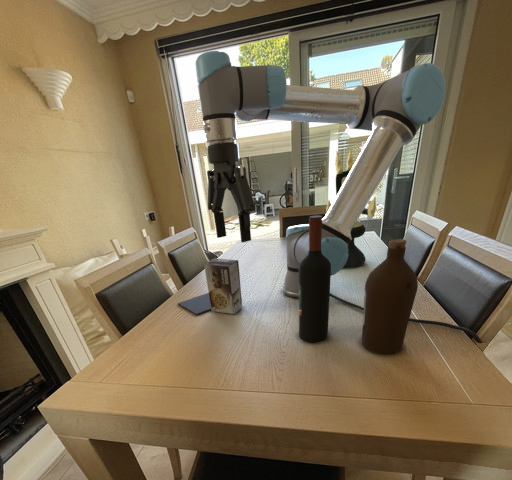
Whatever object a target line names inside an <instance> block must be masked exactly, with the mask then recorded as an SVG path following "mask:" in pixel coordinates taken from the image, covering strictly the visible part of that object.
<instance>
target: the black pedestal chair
mask: <svg viewBox="0 0 512 480" xmlns="http://www.w3.org/2000/svg"><path fill="white" fill-rule="evenodd" d="M353 159H354V158H353V151H352V148H350V150H349V152H348V154H347V159H346V170H345V171H343V163H342V159H341V157H340V155H339V151H336V155H335V163H334V164H335V165H334V166H335V171H336V176H335V191H336V196H337V195H338V193H339V191H340V189H341V187H342V186H343V184H344V182H345V180H346V178H347V177H348V175H349V173H350V171H351V169H352V168H353V165H354V164H353V163H354V162H353ZM376 197H377V196H374V197H373V198H372V200H371V201H370V202H369V204H368V207H365V208H364V210H363V212H362V213H361V215H365V216H368V217H371V218H374V217H375V215H376V210H377V199H376ZM331 205H332V203H331V202H330V200H327V205H326V209H325V210H326V211H325V215H326V214H327V213H328V211H329V209H330V207H331ZM365 232H366V227H365V226H364V224H362V223H361V222H360V221H359V219H358V220H357V222H356V223H355V225H354V227H353V228H352V230H351V238H352V240H351V242H350V243H349V245H348V259H347V262H346V264H345V265H344V267H343V268H342V269H346V268H347V269H348V268H351V269H352V268H356V267H360V266H363V265H364V263H366V255H365V254H364V253H363V251H362V250H361V249H359V248H358V247H357V245H356V244H355V243H356V242H355V239H357V238H360V237H362V236H364V234H365Z"/></svg>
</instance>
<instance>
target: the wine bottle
mask: <svg viewBox="0 0 512 480" xmlns="http://www.w3.org/2000/svg"><path fill="white" fill-rule="evenodd" d="M322 219H323V215H311V216H309V217H308V224H309V252H308V255H307V256H306V257H305V258H303V259H302V261H301V262H300V264H299V298H298V337H299V339H300V340H301V341H303V342H305V343H309V344H319V343H323V342H325V341H326V340H327V339H328V336H329V315H330V297H331V296H330V293H331V276H332V275H331V263H330V262H329V260H328V259H327V258H326V257H325V256H324V255H323V254H322V252H321V237H322Z"/></svg>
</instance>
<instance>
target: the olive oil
mask: <svg viewBox="0 0 512 480" xmlns="http://www.w3.org/2000/svg"><path fill="white" fill-rule="evenodd" d="M406 244H407V240H406V239H403V238H393V239H390V240H389V242H388V247H387V251H386V257H385V259H384V260H383V261H382V262H381V263H379V264H378V265H377V266H376V267H375V268H373V269H372V271H371V272H370V273H369V274H368V275H367V278H366V281H365V284H364V297H363V308H364V311H363V314H362V315H363V316H362V326H361V327H362V328H361V330H362V331H361V346H362V347H363V348H364V349H366V350H367V351H369V352H371V353H373V354H378V355H393V354H397V353H399V352H400V351H402V349H403V346H404V342H405V338H406V333H407V330H408V326H409V323H410V322H409V318H411V314H412V310H413V308H414V304H415V299H416V297H417V292H418V290H419V289H418V288H419V282H418V276H417V275H416V273H415V271H414V270H413V269H412V267H411V266H410V265H409V264H408V263H407V261H406V260H405V255H406V249H407V247H406Z"/></svg>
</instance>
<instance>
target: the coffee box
mask: <svg viewBox="0 0 512 480" xmlns="http://www.w3.org/2000/svg"><path fill="white" fill-rule="evenodd" d="M239 263H240V262H239V260H238V259H227V258H216V257H215V258H214V257H213V259H210V260H209V261H207V262H206V263H204V265H203V266H204V272H205V278H206V285H207V291H208V293H209V298H210V304H211V310H210V312H211V311H212V312H216V313H217V312H218V313H223V314H229V315H236V313H238V312H239V311H240V310H241V309H242V308H243V299H242V290H241V289H242V287H241V275H240V266H239V265H240V264H239Z"/></svg>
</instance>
